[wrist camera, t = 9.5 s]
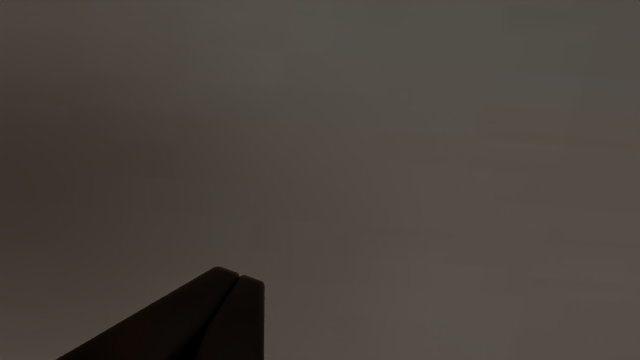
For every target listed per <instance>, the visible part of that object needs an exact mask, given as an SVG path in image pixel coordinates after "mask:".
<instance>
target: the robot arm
mask: <svg viewBox="0 0 640 360" xmlns="http://www.w3.org/2000/svg"><path fill="white" fill-rule="evenodd" d="M264 292H265V286H264V283H263V282H262V281H260V280H257V279H254V278H251V277H248V276H245V275H242V276H239V274H238V273H236V272H234V271H231V270H228V269H225V268H222V267H214V268H212V269H210V270H209V271H207V272H205V273H203V274H202V275H200V276H198V277H197V278H195V279H193V280H191V281H190V282H188V283H186V284H185V285H183V286H181V287H180V288H178V289H176V290H174V291H173V292H171V293H169V294H168V295H166V296H164V297H162V298H161V299H159V300H157V301H156V302H154V303H152V304H150V305H149V306H147V307H145V308H144V309H142V310H140V311H138V312H137V313H135V314H133V315H132V316H130V317H128V318H126V319H125V320H123V321H121V322H120V323H118V324H116V325H114V326H113V327H111V328H109V329H108V330H106V331H104V332H102V333H101V334H99V335H97V336H96V337H94V338H92V339H90V340H89V341H87V342H85V343H84V344H82V345H80V346H79V347H77V348H75V349H73V350H72V351H70V352H68V353H67V354H65V355H63V356H61V357H60V358H58V359H56V360H264Z"/></svg>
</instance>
